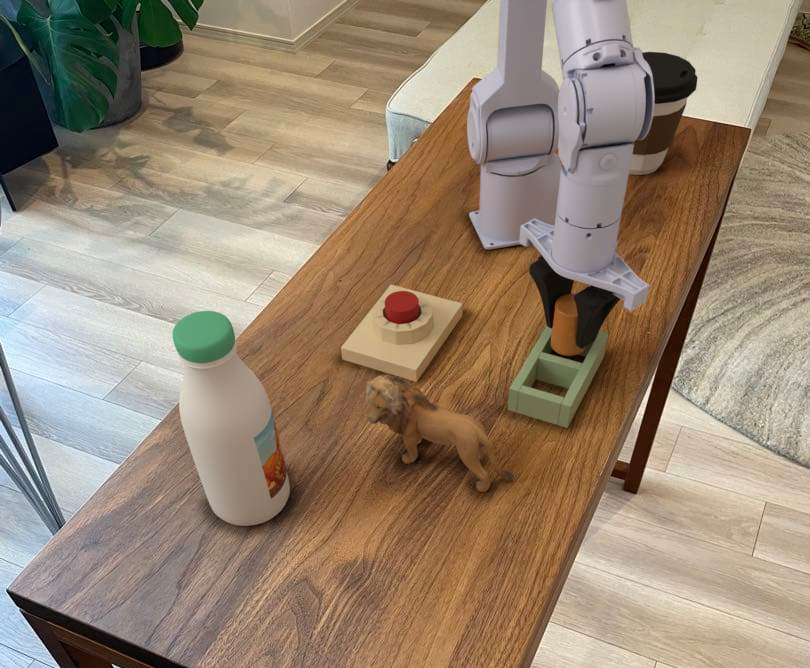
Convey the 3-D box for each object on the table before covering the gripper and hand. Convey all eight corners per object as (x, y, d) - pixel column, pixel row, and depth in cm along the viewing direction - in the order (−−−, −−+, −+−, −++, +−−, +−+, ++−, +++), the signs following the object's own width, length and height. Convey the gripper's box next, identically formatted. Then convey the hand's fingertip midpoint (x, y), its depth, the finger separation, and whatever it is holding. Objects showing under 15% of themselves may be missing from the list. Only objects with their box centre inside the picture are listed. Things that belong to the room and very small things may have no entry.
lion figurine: (360, 462, 81) (352, 394, 74) (381, 425, 84) (374, 356, 77) (505, 500, 77) (511, 432, 70) (521, 460, 80) (528, 391, 73)
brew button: (394, 300, 91) (394, 287, 90) (424, 309, 90) (424, 295, 89) (379, 320, 89) (378, 306, 88) (410, 328, 88) (409, 315, 87)
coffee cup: (687, 151, 113) (709, 57, 104) (666, 191, 107) (687, 96, 98) (609, 136, 116) (623, 44, 107) (584, 175, 111) (597, 81, 101)
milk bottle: (257, 541, 76) (207, 374, 60) (193, 508, 78) (128, 340, 63) (307, 485, 80) (272, 314, 64) (244, 456, 82) (195, 285, 66)
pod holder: (604, 356, 89) (608, 333, 87) (567, 428, 83) (570, 406, 80) (547, 340, 91) (550, 318, 88) (507, 410, 85) (509, 388, 82)
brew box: (391, 296, 97) (389, 270, 94) (462, 315, 94) (462, 289, 91) (342, 359, 90) (338, 334, 88) (416, 382, 88) (415, 356, 85)
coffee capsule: (547, 353, 85) (552, 313, 81) (553, 331, 87) (558, 291, 83) (583, 358, 84) (589, 318, 80) (587, 336, 86) (594, 295, 82)
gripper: (683, 227, 72) (652, 350, 83) (561, 163, 79) (547, 284, 90) (628, 260, 69) (603, 382, 80) (507, 191, 76) (499, 312, 87)
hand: (570, 333), depth 85 cm, fingers closed on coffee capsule, 4 cm apart
